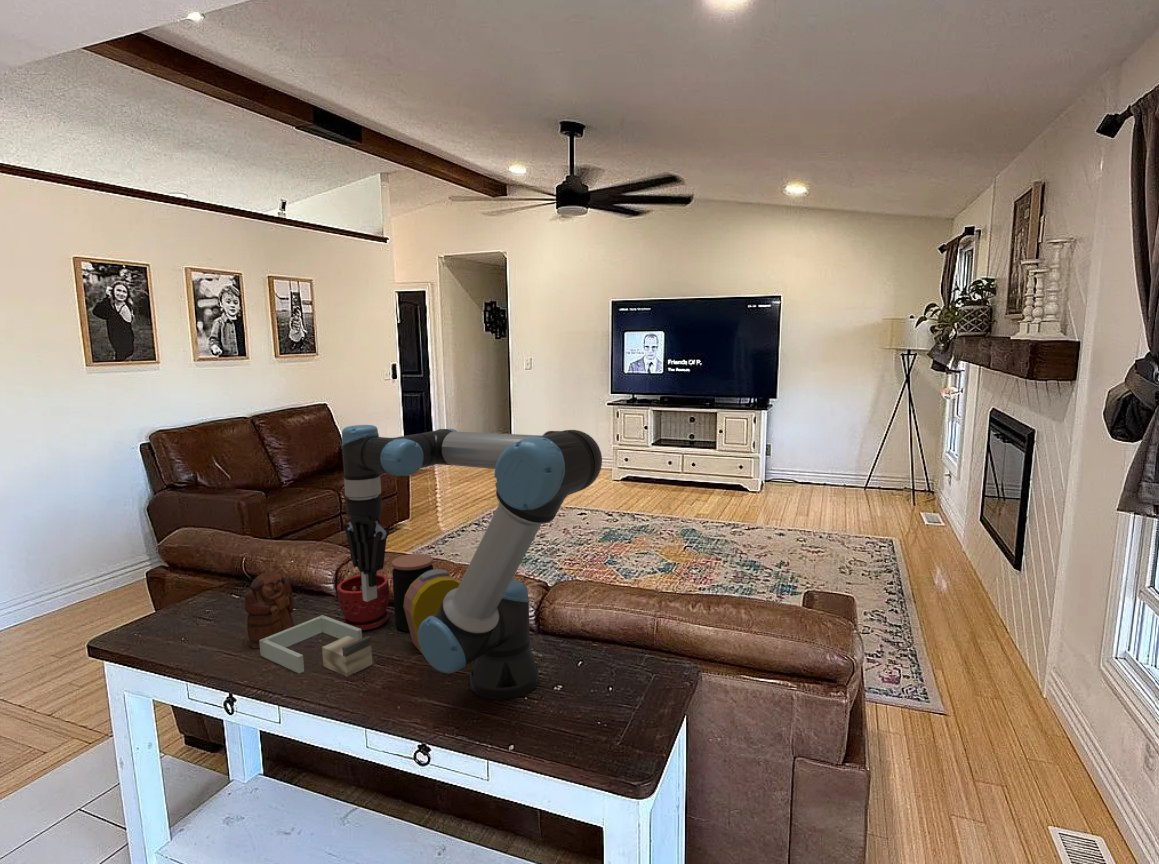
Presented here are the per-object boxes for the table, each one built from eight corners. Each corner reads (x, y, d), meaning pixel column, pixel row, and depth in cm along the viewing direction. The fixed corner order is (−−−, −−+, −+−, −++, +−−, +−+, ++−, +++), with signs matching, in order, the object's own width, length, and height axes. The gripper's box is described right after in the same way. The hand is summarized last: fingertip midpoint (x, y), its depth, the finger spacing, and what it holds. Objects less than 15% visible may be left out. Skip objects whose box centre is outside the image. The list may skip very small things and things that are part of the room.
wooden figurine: (265, 652, 162) (259, 582, 160) (246, 648, 165) (239, 579, 162) (301, 632, 173) (295, 566, 171) (282, 629, 176) (276, 564, 173)
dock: (362, 644, 166) (361, 629, 165) (299, 673, 151) (298, 657, 151) (323, 629, 175) (322, 615, 174) (260, 655, 161) (259, 640, 160)
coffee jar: (426, 634, 170) (422, 567, 168) (388, 631, 173) (384, 565, 170) (442, 617, 181) (439, 554, 178) (406, 615, 183) (403, 552, 180)
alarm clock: (460, 629, 174) (457, 561, 171) (473, 640, 167) (470, 570, 164) (404, 643, 166) (400, 573, 163) (415, 656, 159) (411, 583, 156)
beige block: (372, 664, 155) (370, 636, 154) (347, 677, 150) (345, 648, 149) (348, 655, 161) (346, 627, 160) (323, 667, 155) (321, 638, 154)
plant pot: (351, 614, 185) (348, 573, 183) (397, 614, 184) (394, 572, 182) (331, 634, 172) (328, 590, 170) (381, 634, 171) (378, 590, 169)
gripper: (397, 496, 143) (402, 599, 147) (359, 489, 151) (365, 587, 154) (368, 503, 137) (375, 611, 140) (330, 495, 144) (337, 598, 148)
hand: (370, 598), depth 147 cm, fingers closed
